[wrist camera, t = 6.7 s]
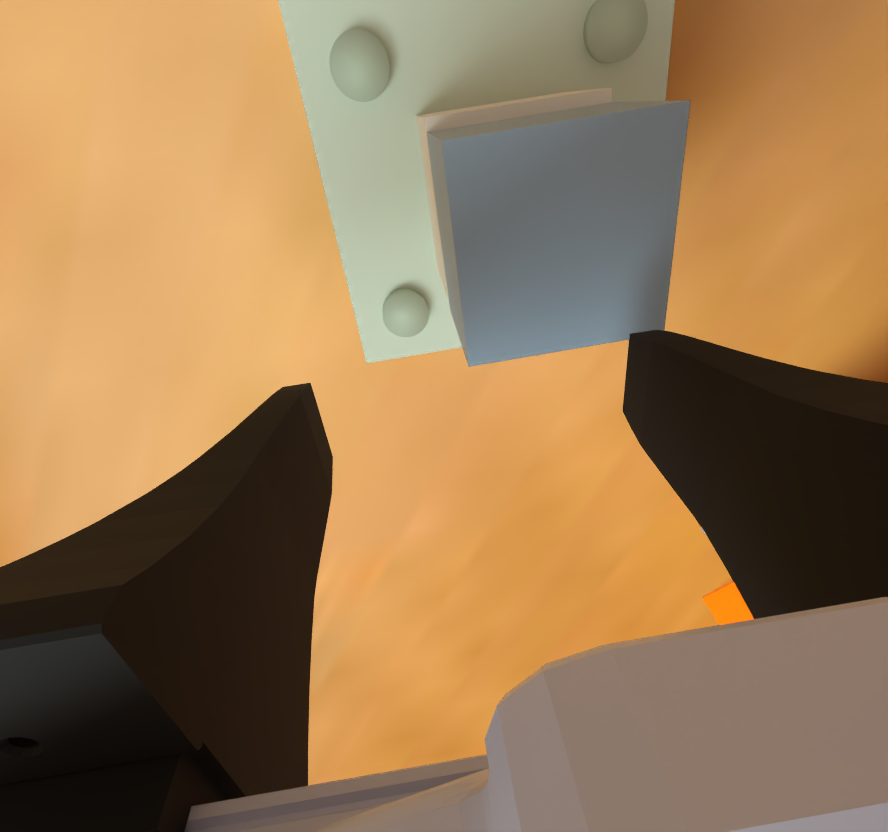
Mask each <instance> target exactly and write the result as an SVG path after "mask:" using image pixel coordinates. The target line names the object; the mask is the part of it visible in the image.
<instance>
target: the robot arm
mask: <svg viewBox="0 0 888 832" xmlns="http://www.w3.org/2000/svg"><path fill="white" fill-rule="evenodd" d="M623 413H624V415H625V417H626V419H627V421H628V423H629V425H630V427H631V429H632V431H633V432H634V434H635V436H636V438H637V440H638V441H639V443H640V445H641V446H642V448H643V449H644V450H645V452H646V453H647V455H648V456H649V457H650V459H651V460H652V461H653V463H654V464H655V465H656V467H657V468H658V469H659V471H660V472H661V473H662V475H663V476H664V477H665V479H666V480H667V481H668V483H669V484H670V485H671V487H672V488H673V489H674V490H675V492H676V493H677V494H678V496H679V497H680V498H681V500H682V501H683V502H684V504H685V505H686V506H687V508H688V509H689V510H690V512H691V513H692V514H693V516H694V517H695V518H696V520H697V521H698V523H699V524H700V526H701V530H702V531H703V533H704V534H706V535H707V536H708V538H709V540H710V542H711V543H712V545H713V547H714V548H715V550H716V552H717V553H718V555H719V557H720V559H721V560H722V562H723V564H724V565H725V567H726V569H727V570H728V572H729V574H730V576H731V578H732V580H733V581H734V583H735V585H736V587H737V589H738V591H739V592H740V594H741V596H742V598H743V600H744V602H745V603H746V605H747V607H748V609H749V611H750V612H751V614H752V616H753V618H754V619H752V620H746V621H741V622H735V623H729V624H723V625H717V626H711V627H705V628H700V629H694V630H688V631H682V632H676V633H670V634H664V635H658V636H653V637H647V638H641V639H635V640H629V641H623V642H617V643H612V644H606V645H602V646H599V647H596V648H593V649H590V650H587V651H584V652H581V653H577V654H574V655H571V656H568V657H565V658H562V659H559V660H556V661H553V662H550V663H547V664H545V665H544V666H542V667H541V668H540V669H538V670H537V671H536V672H534V673H533V674H532V675H530V676H529V677H528V678H526V679H525V680H524V681H522V682H521V683H520V684H518V685H517V686H516V687H514V688H513V689H512V690H510V691H509V692H508V693H506V694H505V696H504V697H503V698H502V700H501V701H500V702H499V704H498V705H497V707H496V710H495V713H494V716H493V718H492V721H491V724H490V727H489V729H488V732H487V735H486V738H485V744H486V751H487V754H486V755H481V756H475V757H469V758H464V759H458V760H452V761H446V762H441V763H435V764H429V765H424V766H418V767H412V768H407V769H401V770H395V771H389V772H384V773H378V774H372V775H367V776H361V777H355V778H349V779H344V780H338V781H332V782H327V783H321V784H315V785H310V786H308V723H309V685H310V662H311V640H312V624H313V609H314V595H315V588H316V580H317V574H318V568H319V563H320V557H321V552H322V546H323V541H324V535H325V530H326V524H327V518H328V512H329V507H330V501H331V494H332V465H333V456H332V453H331V450H330V446H329V443H328V440H327V436H326V433H325V430H324V426H323V423H322V420H321V416H320V413H319V410H318V406H317V403H316V400H315V396H314V393H313V390H312V387H311V383H306V384H300V385H293V386H287V387H282V388H281V389H279V390H278V391H277V392H275V393H274V394H273V395H272V396H271V397H269V398H268V399H267V400H266V401H265V402H264V403H263V404H261V405H260V406H259V407H258V408H257V409H256V410H255V411H254V412H253V413H251V414H250V415H249V416H248V417H247V418H246V419H245V420H244V421H242V422H241V423H240V424H239V425H238V426H237V427H236V428H235V429H233V430H232V431H231V432H230V433H229V434H228V435H226V436H225V437H224V438H223V439H221V440H220V441H219V442H218V443H216V444H215V445H214V446H213V447H212V448H210V449H209V450H208V451H207V452H205V453H204V454H203V455H202V456H200V457H199V458H198V459H197V460H195V461H194V462H193V463H191V464H190V465H189V466H187V467H186V468H184V469H183V470H182V471H180V472H179V473H177V474H176V475H174V476H173V477H171V478H170V479H168V480H167V481H165V482H164V483H162V484H161V485H159V486H158V487H156V488H155V489H153V490H152V491H150V492H148V493H147V494H145V495H143V496H142V497H140V498H138V499H136V500H135V501H133V502H131V503H129V504H128V505H126V506H124V507H122V508H121V509H119V510H117V511H115V512H114V513H112V514H110V515H108V516H107V517H105V518H103V519H101V520H100V521H98V522H96V523H94V524H92V525H90V526H88V527H86V528H84V529H82V530H80V531H78V532H76V533H74V534H72V535H70V536H68V537H66V538H64V539H62V540H60V541H58V542H56V543H54V544H52V545H49V546H47V547H45V548H43V549H41V550H39V551H37V552H34V553H32V554H30V555H28V556H26V557H23V558H21V559H19V560H17V561H14V562H12V563H10V564H7V565H5V566H2V567H0V832H888V383H883V382H876V381H869V380H863V379H857V378H852V377H846V376H841V375H836V374H830V373H825V372H820V371H815V370H810V369H806V368H801V367H797V366H793V365H789V364H785V363H781V362H777V361H773V360H769V359H765V358H762V357H758V356H754V355H751V354H747V353H744V352H740V351H737V350H733V349H730V348H726V347H723V346H720V345H716V344H713V343H710V342H706V341H703V340H699V339H696V338H692V337H689V336H685V335H681V334H678V333H673V332H669V331H663V330H651V331H644V332H638V333H631V334H630V337H629V348H628V359H627V370H626V380H625V391H624V402H623Z"/></svg>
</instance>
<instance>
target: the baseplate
mask: <svg viewBox="0 0 888 832" xmlns="http://www.w3.org/2000/svg"><path fill="white" fill-rule="evenodd" d="M278 1H279V5H280V9H281V13H282V17H283V21H284V25H285V30H286V34H287V38H288V42H289V46H290V50H291V54H292V58H293V62H294V67H295V71H296V75H297V79H298V83H299V87H300V91H301V95H302V99H303V104H304V108H305V112H306V116H307V120H308V124H309V128H310V132H311V136H312V141H313V145H314V149H315V153H316V157H317V161H318V165H319V169H320V174H321V178H322V182H323V186H324V190H325V194H326V198H327V202H328V206H329V211H330V215H331V219H332V223H333V227H334V231H335V235H336V239H337V243H338V248H339V252H340V256H341V260H342V264H343V268H344V272H345V276H346V280H347V285H348V289H349V293H350V297H351V301H352V305H353V309H354V313H355V318H356V322H357V326H358V330H359V334H360V338H361V342H362V346H363V350H364V355H365V359H366V363H371V362H377V361H383V360H389V359H395V358H401V357H407V356H413V355H419V354H425V353H431V352H437V351H443V350H449V349H455V348H461V347H462V345H461V342H460V339H459V336H458V333H457V330H456V327H455V324H454V321H453V318H452V315H451V312H450V305H449V301H448V298H447V295H446V292H445V289H444V286H443V283H442V280H441V277H440V274H439V271H438V268H437V264H436V256H435V249H434V242H433V235H432V228H431V221H430V214H429V207H428V199H427V192H426V185H425V178H424V171H423V164H422V157H421V150H420V143H419V135H418V128H417V121H416V115H423V114H429V113H435V112H441V111H448V110H454V109H460V108H467V107H473V106H479V105H485V104H492V103H498V102H504V101H511V100H517V99H523V98H529V97H536V96H542V95H548V94H555V93H561V92H569V91H580V90H592V89H603V88H612V100H611V102H642V101H666V91H667V81H668V70H669V59H670V48H671V38H672V27H673V16H674V5H675V0H278Z"/></svg>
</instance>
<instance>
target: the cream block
mask: <svg viewBox="0 0 888 832" xmlns="http://www.w3.org/2000/svg"><path fill="white" fill-rule="evenodd" d="M611 100H612V88H603V89H592V90H580V91H569V92H561V93H555V94H548V95H542V96H536V97H529V98H523V99H517V100H511V101H504V102H498V103H492V104H485V105H479V106H473V107H467V108H460V109H454V110H448V111H441V112H435V113H429V114H423V115H416V121H417V128H418V135H419V143H420V150H421V157H422V164H423V171H424V178H425V185H426V192H427V199H428V207H429V214H430V221H431V228H432V235H433V242H434V249H435V256H436V264H437V268H438V271H439V274H440V277H441V280H442V283H443V286H444V289H445V292H446V295H447V298H448V301H449V297H448V290H447V282H446V275H445V267H444V260H443V252H442V245H441V237H440V230H439V223H438V215H437V208H436V200H435V193H434V185H433V178H432V170H431V163H430V155H429V148H428V141H427V133H426V132H431V131H437V130H443V129H450V128H456V127H462V126H468V125H474V124H481V123H487V122H493V121H499V120H505V119H511V118H518V117H524V116H530V115H536V114H542V113H548V112H555V111H561V110H567V109H573V108H579V107H585V106H592V105H598V104H604V103H610V102H611Z"/></svg>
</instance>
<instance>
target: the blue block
mask: <svg viewBox="0 0 888 832" xmlns="http://www.w3.org/2000/svg"><path fill="white" fill-rule="evenodd" d="M690 101H691V100H682V101H642V102H610V103H604V104H598V105H592V106H585V107H579V108H573V109H567V110H561V111H555V112H548V113H542V114H536V115H530V116H524V117H518V118H511V119H505V120H499V121H493V122H487V123H481V124H474V125H468V126H462V127H456V128H450V129H443V130H437V131H431V132H426V133H427V141H428V148H429V155H430V163H431V170H432V178H433V185H434V193H435V200H436V208H437V215H438V223H439V230H440V237H441V245H442V252H443V260H444V267H445V275H446V282H447V290H448V297H449V305H450V312H451V315H452V318H453V321H454V324H455V327H456V330H457V333H458V336H459V339H460V342H461V345H462V348H463V351H464V354H465V357H466V360H467V363H468V366H469V367H470V366H476V365H481V364H487V363H493V362H499V361H505V360H511V359H517V358H523V357H528V356H534V355H540V354H546V353H552V352H558V351H564V350H570V349H575V348H581V347H587V346H593V345H599V344H605V343H611V342H617V341H622V340H628V339H629V337H630V334H631V333H638V332H644V331H651V330H663V331H664V328H665V320H666V311H667V302H668V293H669V285H670V276H671V267H672V258H673V250H674V241H675V232H676V224H677V215H678V206H679V197H680V189H681V180H682V171H683V162H684V154H685V145H686V136H687V127H688V119H689V110H690Z"/></svg>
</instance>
